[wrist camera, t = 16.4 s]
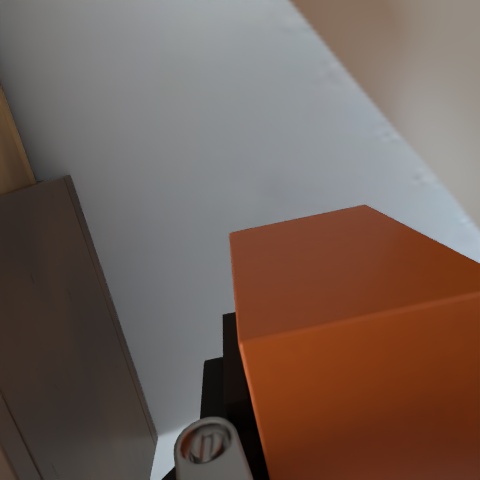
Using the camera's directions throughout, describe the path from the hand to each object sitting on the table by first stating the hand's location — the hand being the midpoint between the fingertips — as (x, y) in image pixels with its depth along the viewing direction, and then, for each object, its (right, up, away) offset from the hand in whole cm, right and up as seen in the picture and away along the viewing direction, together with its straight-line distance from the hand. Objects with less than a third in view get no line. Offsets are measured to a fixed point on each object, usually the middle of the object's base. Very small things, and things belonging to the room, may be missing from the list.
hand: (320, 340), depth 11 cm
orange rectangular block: (0, +1, +1) cm, 1 cm away
